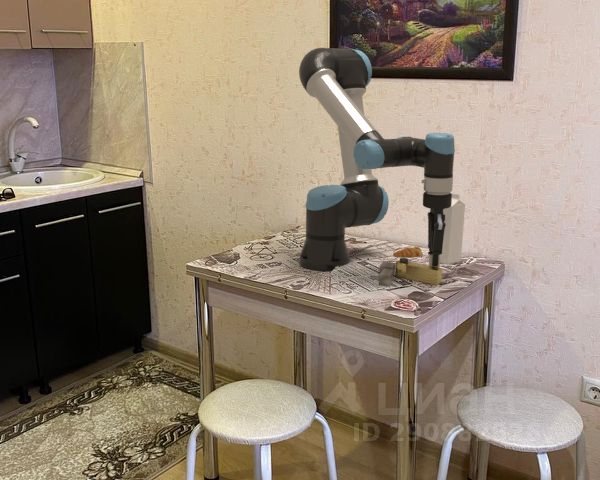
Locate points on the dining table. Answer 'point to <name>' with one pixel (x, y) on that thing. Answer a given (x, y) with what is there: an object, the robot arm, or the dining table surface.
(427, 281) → the latch bar
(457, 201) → the milk
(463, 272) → the dining table surface
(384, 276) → the board
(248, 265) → the dining table surface
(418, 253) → the pastry
